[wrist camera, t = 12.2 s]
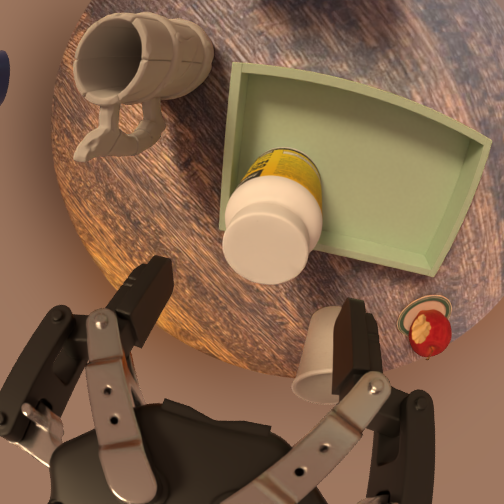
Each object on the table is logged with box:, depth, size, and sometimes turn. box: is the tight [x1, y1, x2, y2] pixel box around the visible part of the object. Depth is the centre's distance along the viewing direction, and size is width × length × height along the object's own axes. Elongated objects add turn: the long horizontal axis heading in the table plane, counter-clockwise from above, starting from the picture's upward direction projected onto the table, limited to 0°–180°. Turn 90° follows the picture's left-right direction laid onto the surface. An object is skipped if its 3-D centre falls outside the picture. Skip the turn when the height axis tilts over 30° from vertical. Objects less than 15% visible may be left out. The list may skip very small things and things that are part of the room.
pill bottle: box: [222, 147, 323, 285], centre depth 19 cm, size 6×6×11 cm
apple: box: [397, 295, 452, 360], centre depth 27 cm, size 8×8×6 cm
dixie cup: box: [291, 306, 342, 404], centre depth 29 cm, size 8×8×10 cm
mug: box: [73, 12, 214, 162], centre depth 15 cm, size 8×12×12 cm, turn 168°
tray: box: [219, 62, 492, 277], centre depth 21 cm, size 22×15×3 cm
